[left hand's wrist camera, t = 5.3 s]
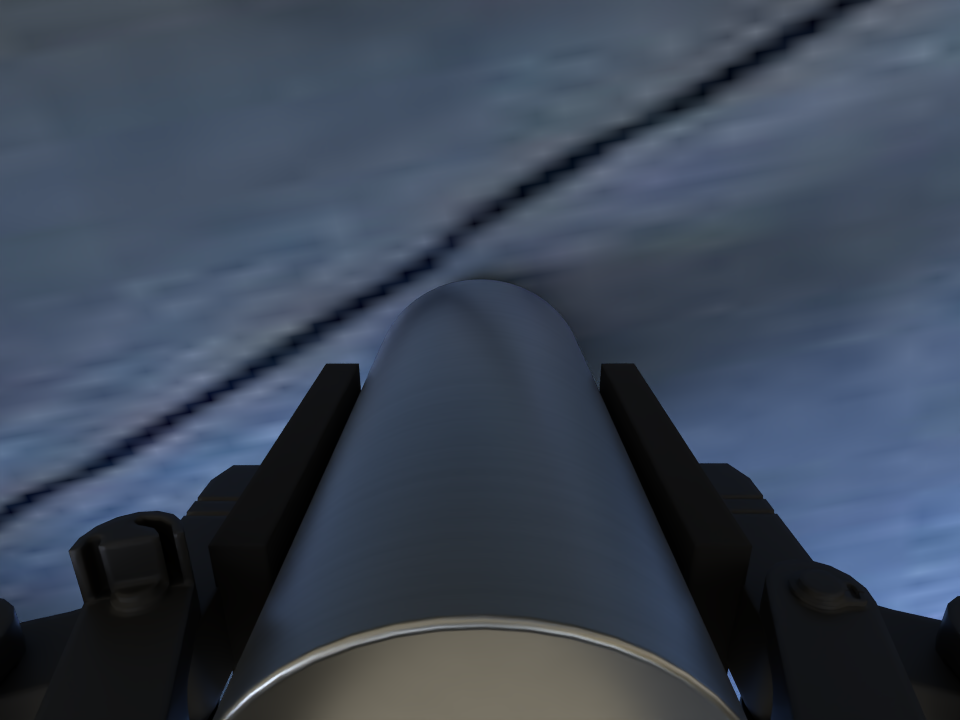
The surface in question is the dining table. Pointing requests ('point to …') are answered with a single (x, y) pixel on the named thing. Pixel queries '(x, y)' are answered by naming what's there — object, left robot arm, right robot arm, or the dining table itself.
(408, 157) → the dining table surface
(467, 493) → the tin
